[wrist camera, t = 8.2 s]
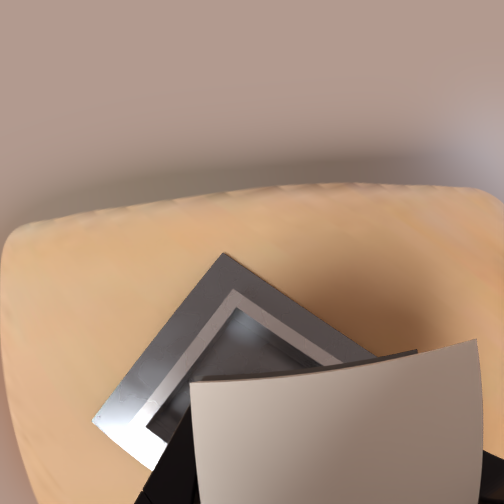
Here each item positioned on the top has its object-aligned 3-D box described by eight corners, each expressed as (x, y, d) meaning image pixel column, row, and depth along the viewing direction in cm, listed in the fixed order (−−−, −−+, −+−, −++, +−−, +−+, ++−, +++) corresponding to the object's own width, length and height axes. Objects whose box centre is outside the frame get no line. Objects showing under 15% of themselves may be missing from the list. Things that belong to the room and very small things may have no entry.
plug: (309, 454, 13) (471, 550, 2) (217, 463, 13) (218, 628, 2) (303, 370, 15) (479, 331, 4) (210, 376, 14) (180, 374, 3)
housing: (276, 535, 15) (287, 560, 11) (94, 420, 18) (70, 426, 14) (391, 369, 21) (420, 365, 17) (222, 255, 24) (223, 231, 20)
